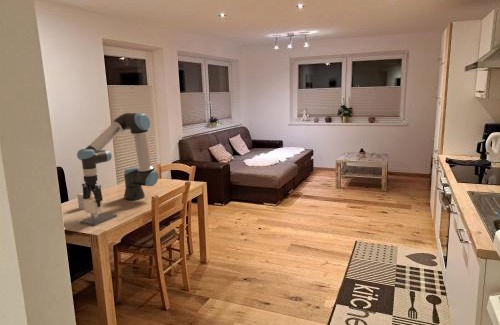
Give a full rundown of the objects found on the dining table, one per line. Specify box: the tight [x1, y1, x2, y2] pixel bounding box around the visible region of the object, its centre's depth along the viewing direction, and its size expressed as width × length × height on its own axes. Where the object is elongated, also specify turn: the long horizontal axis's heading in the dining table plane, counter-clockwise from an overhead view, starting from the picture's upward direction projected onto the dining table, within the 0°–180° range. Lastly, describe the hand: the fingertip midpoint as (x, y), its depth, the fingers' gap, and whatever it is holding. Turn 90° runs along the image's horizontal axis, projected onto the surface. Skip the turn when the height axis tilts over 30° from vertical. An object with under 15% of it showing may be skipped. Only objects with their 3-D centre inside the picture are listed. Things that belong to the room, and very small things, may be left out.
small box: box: [77, 191, 93, 210], centre depth 247 cm, size 8×6×10 cm
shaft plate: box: [79, 211, 118, 227], centre depth 222 cm, size 18×12×6 cm, turn 154°
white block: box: [84, 196, 104, 215], centre depth 218 cm, size 7×7×8 cm
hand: (94, 210), depth 219 cm, fingers closed on white block, 7 cm apart
